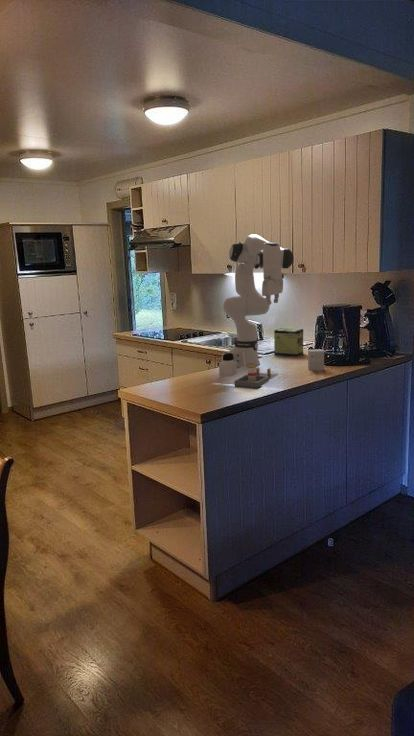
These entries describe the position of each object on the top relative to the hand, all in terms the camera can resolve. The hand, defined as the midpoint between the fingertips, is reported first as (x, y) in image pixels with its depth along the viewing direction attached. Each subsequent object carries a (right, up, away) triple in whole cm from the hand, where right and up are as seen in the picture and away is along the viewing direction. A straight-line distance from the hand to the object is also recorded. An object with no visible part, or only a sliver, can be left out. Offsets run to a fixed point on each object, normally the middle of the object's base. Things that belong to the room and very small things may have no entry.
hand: (272, 303), depth 262 cm
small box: (+26, -33, +19) cm, 46 cm away
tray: (-11, -40, -9) cm, 43 cm away
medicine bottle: (-22, -37, +11) cm, 44 cm away
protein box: (+18, -24, +64) cm, 71 cm away
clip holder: (-4, -37, +4) cm, 38 cm away
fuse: (-11, -39, -9) cm, 42 cm away
